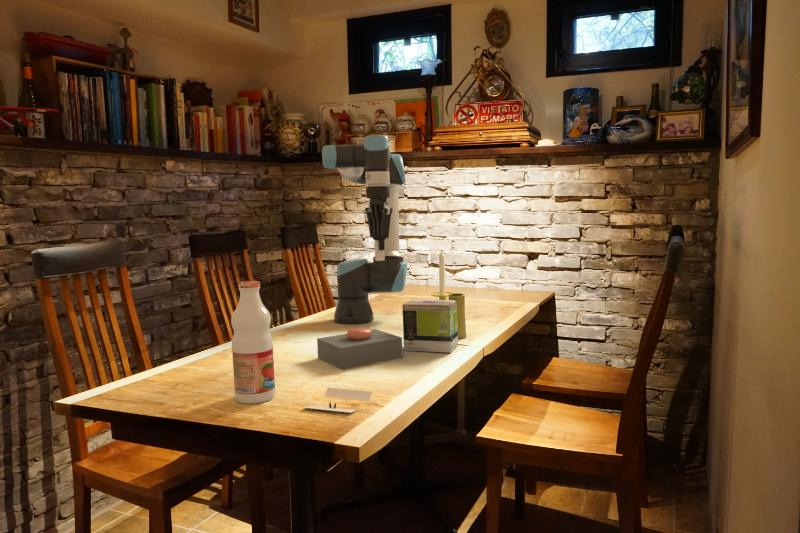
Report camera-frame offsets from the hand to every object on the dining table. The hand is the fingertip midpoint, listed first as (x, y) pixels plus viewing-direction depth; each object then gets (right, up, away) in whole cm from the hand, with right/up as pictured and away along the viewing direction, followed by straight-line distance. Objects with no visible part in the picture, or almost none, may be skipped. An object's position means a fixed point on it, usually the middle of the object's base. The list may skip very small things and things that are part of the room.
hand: (379, 260), depth 195 cm
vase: (+25, -26, +9) cm, 37 cm away
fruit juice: (-28, -34, -48) cm, 65 cm away
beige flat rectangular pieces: (-8, -34, -54) cm, 64 cm away
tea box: (+16, -28, -5) cm, 32 cm away
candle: (+23, -22, +39) cm, 50 cm away
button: (-5, -29, -14) cm, 32 cm away
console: (-5, -29, -14) cm, 33 cm away
